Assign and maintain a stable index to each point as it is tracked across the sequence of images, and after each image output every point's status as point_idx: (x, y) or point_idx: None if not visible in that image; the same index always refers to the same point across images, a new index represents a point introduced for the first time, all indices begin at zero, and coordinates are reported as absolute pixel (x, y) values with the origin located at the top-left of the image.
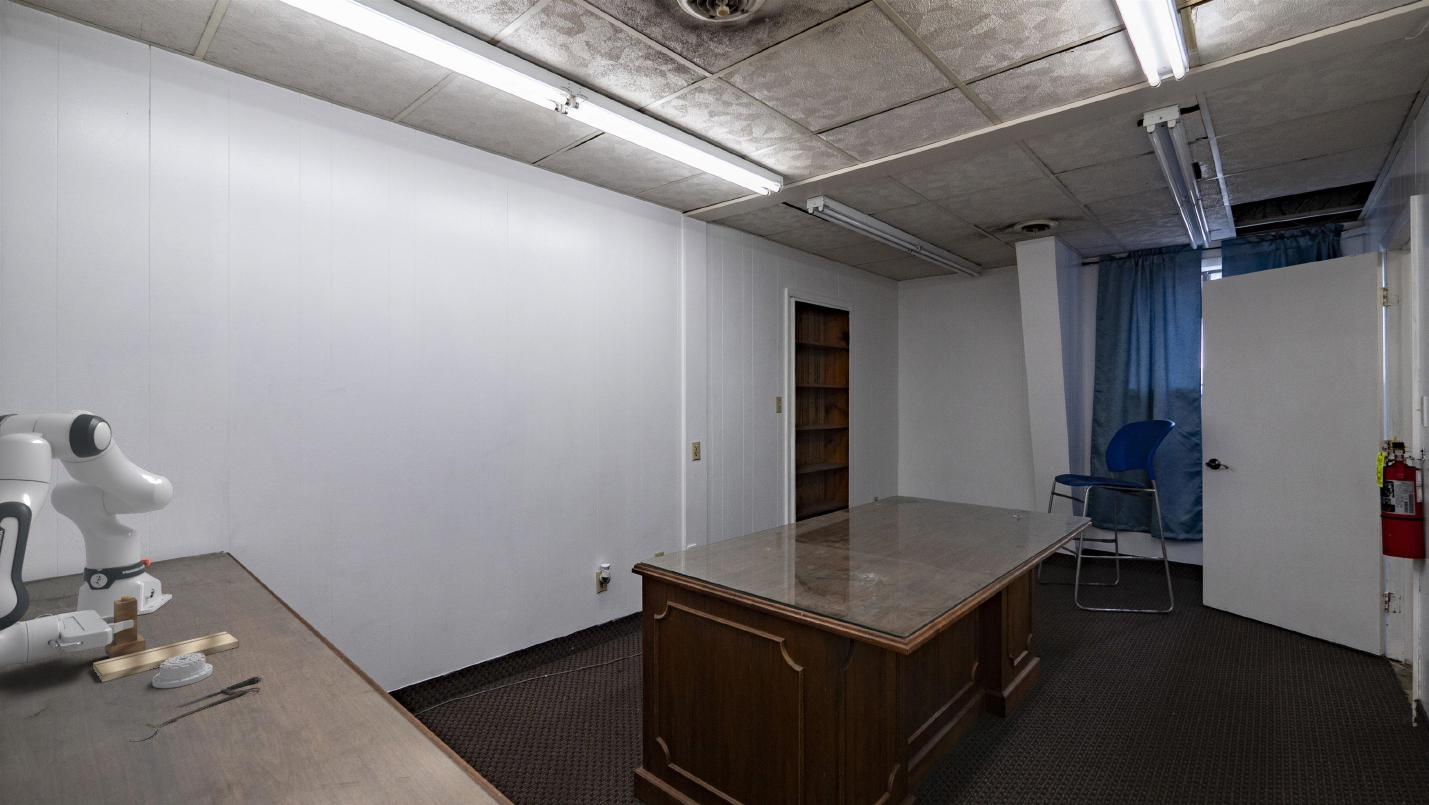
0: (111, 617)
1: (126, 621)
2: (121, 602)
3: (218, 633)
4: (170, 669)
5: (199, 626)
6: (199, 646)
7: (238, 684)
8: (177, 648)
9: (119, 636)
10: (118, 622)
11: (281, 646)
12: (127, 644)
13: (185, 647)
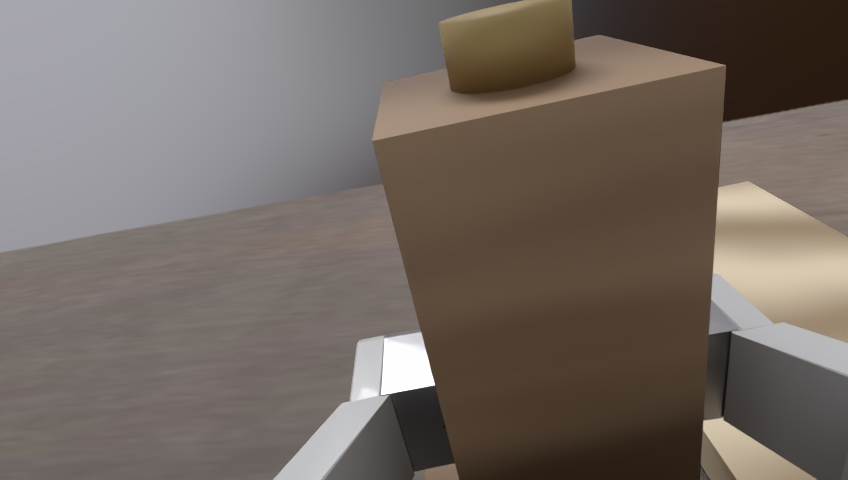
0: (346, 462)
1: (751, 307)
2: (637, 64)
3: None
4: None
5: (301, 314)
6: (776, 253)
7: None
8: (765, 315)
9: None
10: (818, 356)
11: (805, 144)
12: None
13: (763, 291)
